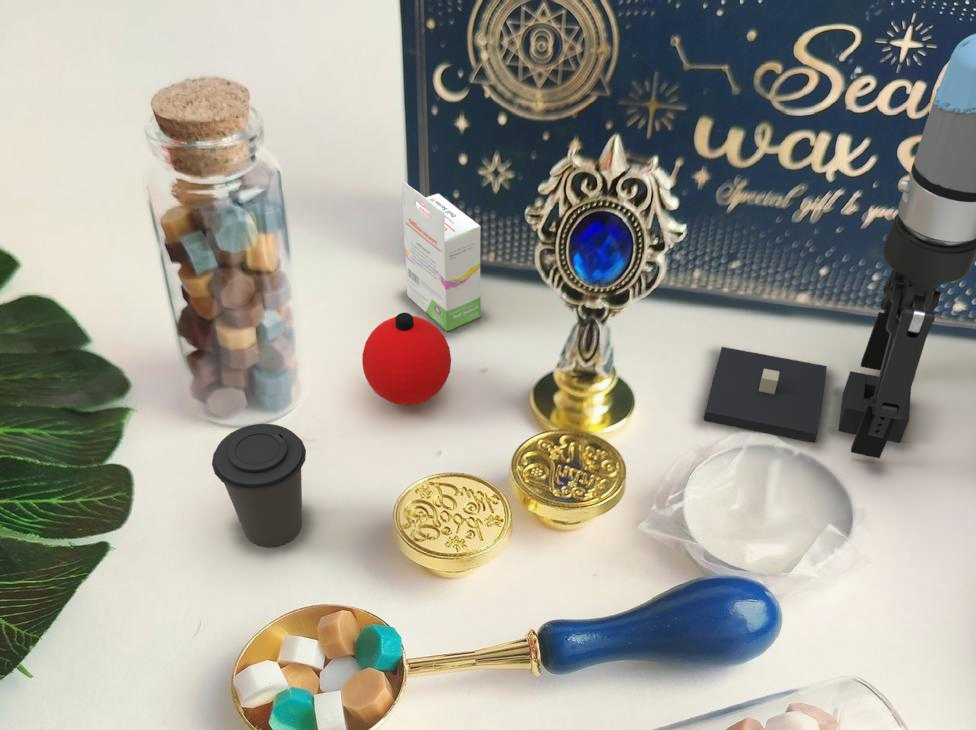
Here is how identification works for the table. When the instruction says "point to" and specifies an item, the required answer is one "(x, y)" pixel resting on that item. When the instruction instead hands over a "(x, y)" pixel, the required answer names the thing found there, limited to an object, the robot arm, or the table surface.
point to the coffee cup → (263, 481)
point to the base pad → (766, 394)
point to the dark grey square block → (854, 409)
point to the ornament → (406, 360)
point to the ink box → (441, 258)
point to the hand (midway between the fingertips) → (869, 408)
